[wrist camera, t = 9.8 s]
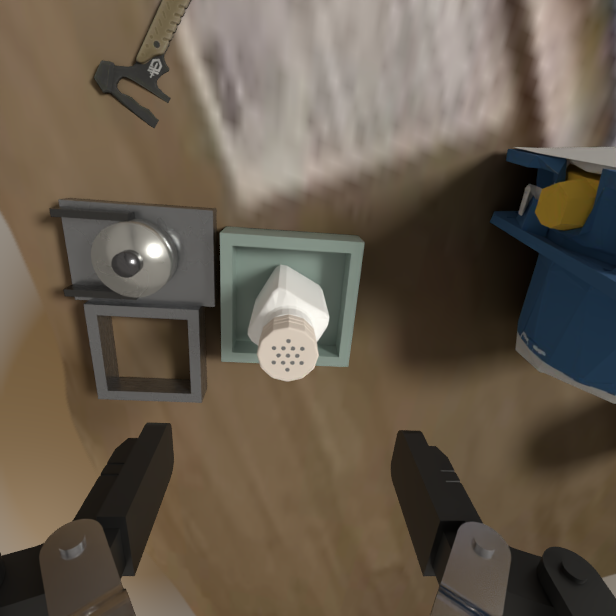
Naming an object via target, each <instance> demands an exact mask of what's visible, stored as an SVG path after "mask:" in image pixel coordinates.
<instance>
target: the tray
mask: <svg viewBox="0 0 616 616" xmlns="http://www.w3.org/2000/svg"><path fill="white" fill-rule="evenodd" d="M364 243H365V242H364V241H363V240H362V239H361V238H360V237H359V236H358V235H344V234H329V233H315V232H300V231H285V230H271V229H256V228H242V227H227V226H226V227H225V228H224V229H223V230H222V231H221V232H220V287H221V361H223V362H246V363H259V360H258V356H257V350H258V345H257V344H255V343H254V342H252V341H251V339H250V338H249V336H248V328H249V324H250V320H251V316H252V312H253V308H254V304H255V300H256V298H257V296H258V295H259V293H260V292H261V290H262V288H263V287H264V285H265V284H266V282H267V280H268V279H269V277H270V276H271V274H272V272H273V271H274V269H275V268H276V267H277V266H279V265H280V264H281V265H287V266H288V267H290V268H292V269H293V270H295V271H297V272H298V273H300V274H302V275H303V276H305V277H306V278H308V279H310V280H311V281H313V282H315V283H316V284H318V285H319V286H320V287H321V289H322V290H323V294H324V298H325V302H326V306H327V310H328V313H329V322H328V326H327V327H326V329H325V331H324V332H323V334H322V335H321V337H320V338H319V340H318V341H317V347H318V354H319V356H318V359H317V362H316V364H315V365H316V366H339V367H348V364H349V356H350V349H351V341H352V334H353V326H354V319H355V311H356V304H357V296H358V289H359V281H360V273H361V266H362V258H363V251H364Z"/></svg>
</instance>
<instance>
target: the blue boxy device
mask: <svg viewBox="0 0 616 616" xmlns="http://www.w3.org/2000/svg"><path fill="white" fill-rule="evenodd" d="M515 148H519V149H508V152H507V158H506V161H508V162H512V163H515V164H518V165H522V166H525V167H531V168H538V172H537V186H535V185H532V184H528V185H527V187H526V188H525V192H524V195H523V200H522V203H521V206H520V210H519V211H494V213H493V216H492V218H491V220H490V223H492V224H494V225H495V226H497V227H498V228H500V229H502V230H503V231H505V232H506V233H508V234H510V235H511V236H513V237H514V238H516V239H518V240H519V241H521V242H522V243H524V244H526V245H527V246H529V247H530V248H532V249H534V250H535V251H537V252H538V253H539V256H538V259H537V263H536V266H535V269H534V272H533V275H532V278H531V282H530V285H529V288H528V291H527V294H526V298H525V301H524V304H523V307H522V310H521V314H520V317H519V320H518V328H517V340H516V351H517V352H518V353H519V354H520V355H521V356H522V357H524V358H525V359H526V360H527V361H528V362H529V363H530V364H531V365H532V366H534V367H535V368H536V369H537V370H538V371H539V372H543V373H545V374H548V375H550V376H552V377H555V378H557V379H559V380H561V381H564V382H566V383H568V384H570V385H573V386H575V387H577V388H579V389H582V390H584V391H586V392H589V393H591V394H593V395H595V396H598V397H600V398H602V399H604V400H607V401H609V402H611V403H613V404H616V147H570V148H523V147H515ZM569 163H572V164H569Z"/></svg>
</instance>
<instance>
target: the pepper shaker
mask: <svg viewBox="0 0 616 616" xmlns="http://www.w3.org/2000/svg"><path fill="white" fill-rule="evenodd" d="M328 322H329V313H328V310H327V306H326V302H325V298H324V294H323V290H322V289H321V287H320V286H319V285H318V284H316V283H315V282H313V281H311V280H310V279H308V278H306V277H305V276H303V275H302V274H300V273H298V272H297V271H295V270H293V269H292V268H290V267H288V266H287V265H281V264H280V265H279V266H277V267H276V268H275V269H274V271H273V272H272V274H271V276H270V277H269V279H268V280H267V282H266V284H265V285H264V287H263V288H262V290H261V292H260V293H259V295H258V296H257V298H256V300H255V304H254V308H253V312H252V316H251V320H250V324H249V328H248V336H249V338H250V339H251V341H252V342H254V343H255V344H257V345H258V350H257V356H258V360H259V363H260V366H261V368H262V369H263V370H264V371H265V372H266V373H267V374H269V375H270V376H271V377H272V378H275V379H279V380H283V381H292V380H297V379H301V378H303V377H304V376H306V375H307V374H308V373H309V372H311V371H312V370H313V369H314V367H315V364H316V362H317V359H318V356H319V354H318V347H317V341H318V340H319V338H320V337H321V335H322V334H323V332H324V331H325V329H326V327H327V326H328Z"/></svg>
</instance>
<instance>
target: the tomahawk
mask: <svg viewBox="0 0 616 616" xmlns="http://www.w3.org/2000/svg"><path fill="white" fill-rule="evenodd" d="M190 2H191V0H162V2H161V4H160V6H159V9H158V11H157V13H156V15H155V17H154V20H153V22H152V24H151V26H150V29H149V31H148V33H147V35H146V37H145V40H144V42H143V44H142V46H141V48H140V51H139V53H138V55H137V57H136V63H135V64H134V65H133V66H130V67H124V66H115V65H114V63H112V62H109V61H103V60H102V61H101V62H100V65H99V67H98V69H97V72H96V74H95V76H94V79H95V81H96V82H97V84H98V85H99V87H100V89H101V90H102V92H103V93H111V94H112V95H113V96H114V97H116V98H117V99H118V100H119V101H120V102H121V103H122V104H123V105H125V106H126V107H127V108H128V109H129V110H131V111H132V112H133V113H134V114H135V115H137V116H138V117H139V118H140V119H142V120H143V121H145V122H146V123H147V124H149V125H150V126H151V127H153V128H155V126H156V124H157V123H158V121H159V120H158V119H156V118H155V116H154V115H153V114H152V113H151V112H150V110H148V109H146V108H144V107H142V106H140V105H139V104H138V103H137V102H136V101H135V100H134V99H133V98H132V97H129V96H127V95H124V94H122V93H121V92H120V91H119V90H118V88H117V84H118V82H119V81H120V79H122V78H123V77H127V78H129V79H131V80H133V81H135V82H136V83H138V84H140V85H141V86H143V87H144V88H146V89H148V90H149V91H151V92H152V93H154V94H155V95H157V96H158V97H160V98H161V99H163V100H164V101H166V102H167V103H168V102H169V100H170V99H171V98H170V97H168V96H167V95H165V94H164V93H163V92H162V91H161V90H160V89H159V88H158V86H157V80H158V79H159V77H160V76H161V75H163V74H164V73H166V72H168V71H169V68H168V66H167V65H166V63H165V60H164V54H165V52H166V50H167V49H168V47H169V42H170V41H171V40H172V38H173V34H174V33H175V32H176V30H177V25H179V24H180V22H181V17H183V16H184V14H185V9H187V8H188V6H189V4H190Z"/></svg>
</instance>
